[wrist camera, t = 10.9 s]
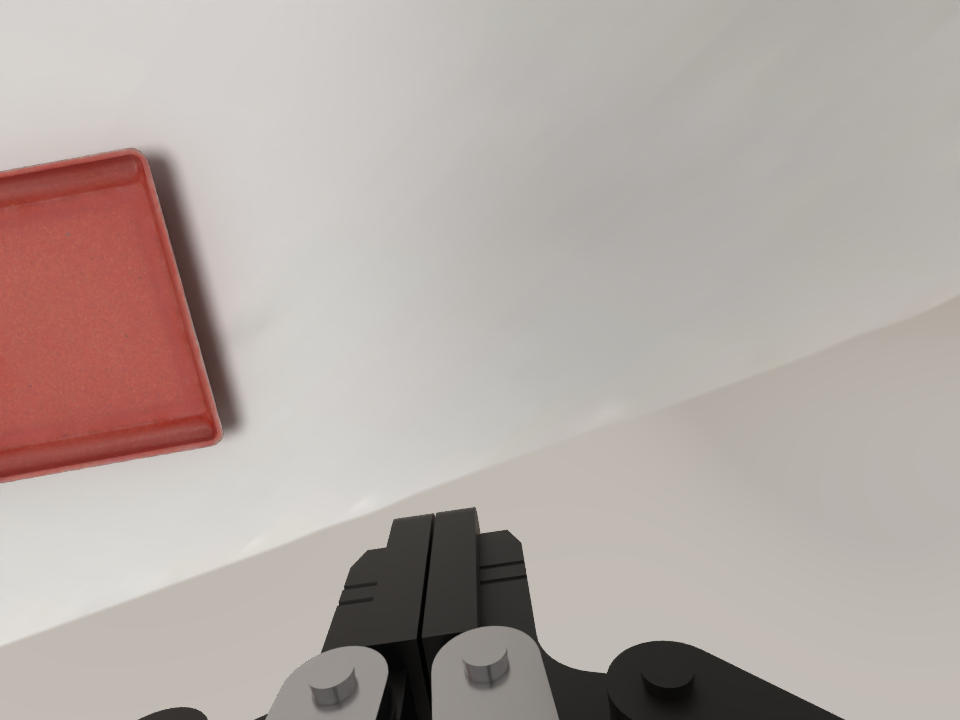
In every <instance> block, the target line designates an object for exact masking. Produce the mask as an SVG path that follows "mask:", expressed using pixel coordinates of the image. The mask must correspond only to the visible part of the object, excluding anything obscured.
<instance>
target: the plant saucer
mask: <svg viewBox="0 0 960 720" xmlns="http://www.w3.org/2000/svg"><path fill="white" fill-rule="evenodd" d="M222 438H223V428H222V425H221V421H220V417H219V414H218V411H217V407H216V403H215V399H214V396H213V392H212V389H211V385H210V382H209V378H208V375H207V371H206V367H205V364H204V360H203V357H202V353H201V350H200V346H199V342H198V339H197V335H196V332H195V328H194V325H193V321H192V317H191V314H190V310H189V307H188V303H187V299H186V296H185V292H184V288H183V284H182V281H181V277H180V274H179V270H178V266H177V263H176V259H175V255H174V252H173V248H172V245H171V241H170V238H169V234H168V230H167V227H166V223H165V219H164V216H163V212H162V208H161V205H160V201H159V197H158V194H157V190H156V187H155V183H154V179H153V176H152V172H151V169H150V166H149V162H148V160H147V158H146V156H145V155H144V154H143V153H142V152H141V151H139V150H137V149H135V148H127V149H120V150H115V151H110V152H104V153H98V154H94V155H87V156H83V157H78V158H72V159H67V160H61V161H56V162H50V163H45V164H38V165H34V166H28V167H23V168H17V169H12V170H7V171H0V483H5V482H11V481H16V480H21V479H28V478H33V477H38V476H44V475H50V474H56V473H61V472H66V471H72V470H79V469H83V468H89V467H95V466H100V465H107V464H112V463H117V462H124V461H129V460H134V459H139V458H146V457H153V456H157V455H162V454H170V453H174V452H181V451H187V450H193V449H198V448H204V447H209V446H213V445H216V444H217V443H218V442H220V441H221V440H222Z"/></svg>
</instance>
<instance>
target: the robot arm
mask: <svg viewBox="0 0 960 720" xmlns="http://www.w3.org/2000/svg"><path fill="white" fill-rule="evenodd" d="M139 720H207V717H206V716H205V715H204V714H203V713H202V712H201V711H199V710H197V709H193V708H188V707H187V708H186V707H179V708H170V709H166V710H161V711H158V712H155V713H153V714H150V715H148V716H145V717H143V718H141V719H139ZM255 720H844V719H842V718H840V717H838V716H836V715H834V714H832V713H830V712H828V711H826V710H824V709H822V708H820V707H818V706H815V705H814V704H812V703H810V702H807V701H805V700H803V699H801V698H799V697H797V696H795V695H793V694H791V693H789V692H787V691H785V690H783V689H781V688H779V687H777V686H775V685H773V684H771V683H769V682H767V681H765V680H763V679H760V678H759V677H756V676H754V675H752V674H750V673H748V672H746V671H744V670H742V669H740V668H738V667H736V666H734V665H732V664H730V663H728V662H726V661H724V660H722V659H720V658H718V657H716V656H713V655H711V654H710V653H707V652H705V651H703V650H701V649H699V648H696V647H694V646H691V645H688V644H684V643H679V642H673V641H651V642H646V643H642V644H638V645H636V646H633V647H631V648H629V649H626V650H625V651H623V652H622V653H621V654H619V655H618V656H617V657H616V658H615V659H614V660H613V662H612V663H611V665H610V666H609V669H608V672H607V674H605V673H597V672H588V671H582V670H577V669H573V668H570V667H568V666H565V665H563V664H561V663H559V662H557V661H556V660H554V659H552V658H551V657H550V656H549V655H548V654H547V653H546V652H545V651H544V650H543V649H542V647H541V646H540V644H539V642H538V639H537V635H536V629H535V623H534V617H533V611H532V605H531V599H530V593H529V587H528V581H527V575H526V568H525V563H524V557H523V551H522V544H521V542H520V541H519V540H518V539H516V538H515V537H514V536H513V535H512V534H511V533H510V532H509V531H508V530H503V531H496V532H489V533H482V534H480V528H479V522H478V516H477V511H476V508H475V507H473V508H466V509H459V510H452V511H445V512H439V513H436V517H435V515H434V514H426V515H420V516H412V517H406V518H398V519H394V521H393V524H392V527H391V531H390V535H389V539H388V543H387V547H386V548H380V549H373V550H367V551H366V553H364V554H363V556H362V557H361V558H360V559H359V560H358V561H357V562H356V563H355V564H354V565H353V566H352V567H351V568H350V571H349V574H348V577H347V580H346V582H345V585H344V590H343V591H342V594H341V597H340V600H339V606H337V608H336V611H335V614H334V617H333V620H332V623H331V626H330V628H329V631H328V634H327V637H326V640H325V643H324V646H323V649H322V652H321V654H319V655H317V656H315V657H313V658H312V659H310V660H308V661H306V662H305V663H304V664H302V665H301V666H300V667H298V668H297V669H296V670H295V671H294V672H293V673H292V674H291V675H290V676H289V677H288V678H287V680H286V681H285V682H284V684H283V686H282V687H281V689H280V691H279V693H278V695H277V697H276V699H275V701H274V703H273V705H272V707H271V709H270V711H269V713H268V714H266V715H264V716H262V717H260V718H257V719H255Z"/></svg>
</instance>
